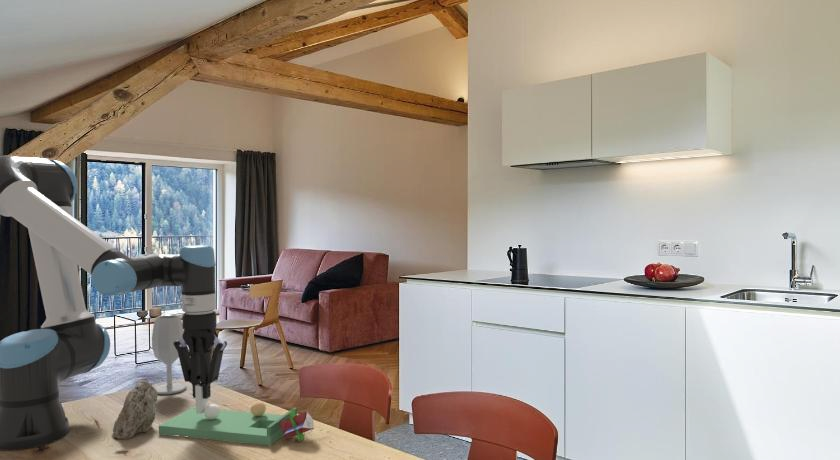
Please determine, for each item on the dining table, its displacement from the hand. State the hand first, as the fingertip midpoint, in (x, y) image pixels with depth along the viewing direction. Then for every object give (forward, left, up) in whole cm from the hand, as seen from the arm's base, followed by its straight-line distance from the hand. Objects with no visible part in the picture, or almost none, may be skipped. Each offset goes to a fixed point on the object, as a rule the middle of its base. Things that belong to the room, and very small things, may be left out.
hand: (202, 411), depth 145 cm
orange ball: (+12, +4, 0) cm, 13 cm away
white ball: (+3, 0, 0) cm, 3 cm away
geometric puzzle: (+25, -2, -4) cm, 25 cm away
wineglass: (-26, +23, -4) cm, 35 cm away
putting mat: (+7, 0, -4) cm, 8 cm away
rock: (-14, -5, -4) cm, 15 cm away
